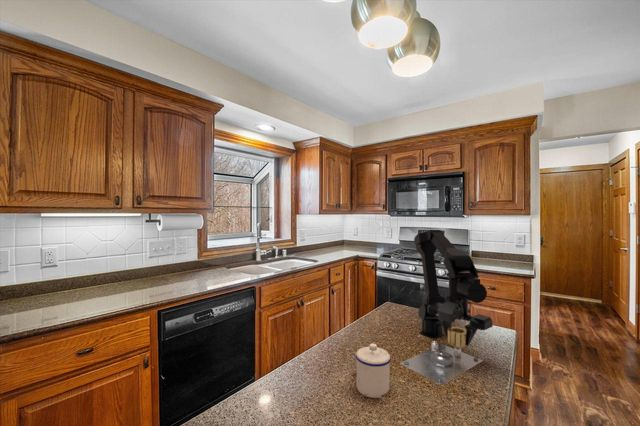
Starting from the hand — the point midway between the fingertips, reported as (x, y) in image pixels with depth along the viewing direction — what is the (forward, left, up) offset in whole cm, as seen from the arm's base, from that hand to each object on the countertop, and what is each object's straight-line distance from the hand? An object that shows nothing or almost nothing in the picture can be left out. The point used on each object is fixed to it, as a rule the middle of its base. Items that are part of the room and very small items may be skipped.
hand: (457, 341), depth 94 cm
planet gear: (0, 0, 0) cm, 0 cm away
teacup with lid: (-6, -34, -6) cm, 35 cm away
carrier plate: (-1, -8, -6) cm, 9 cm away
